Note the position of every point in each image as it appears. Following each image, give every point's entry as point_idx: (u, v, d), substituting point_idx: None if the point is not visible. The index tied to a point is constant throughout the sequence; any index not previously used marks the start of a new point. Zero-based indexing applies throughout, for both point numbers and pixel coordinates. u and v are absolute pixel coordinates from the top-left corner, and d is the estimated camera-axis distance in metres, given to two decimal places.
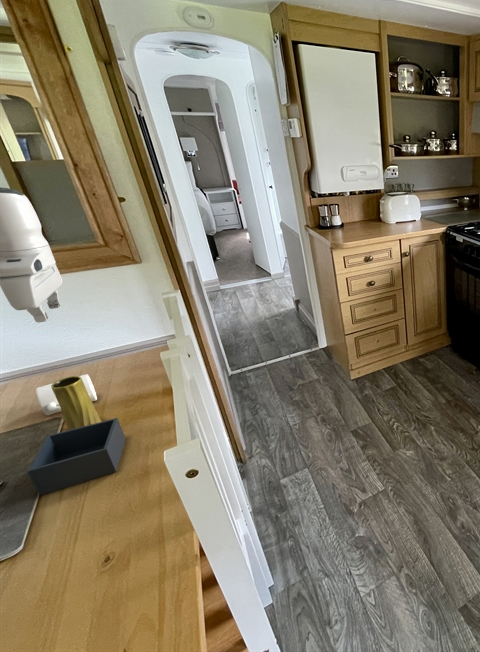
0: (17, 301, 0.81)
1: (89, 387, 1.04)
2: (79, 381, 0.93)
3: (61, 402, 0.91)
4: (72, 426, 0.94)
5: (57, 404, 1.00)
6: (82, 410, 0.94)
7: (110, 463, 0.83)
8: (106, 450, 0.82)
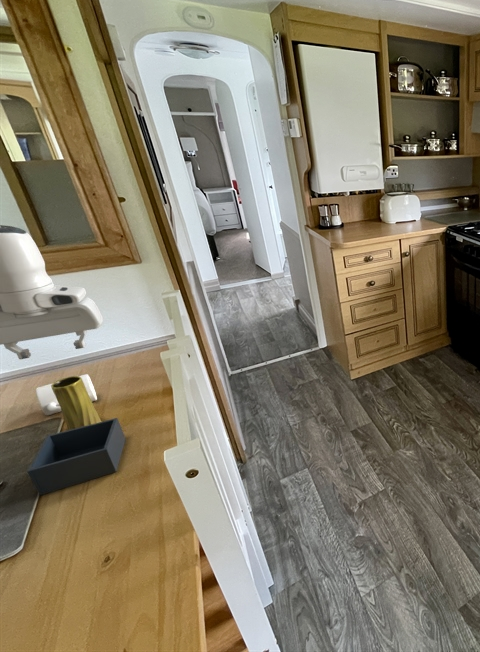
0: (99, 317, 0.91)
1: (89, 387, 1.04)
2: (79, 381, 0.93)
3: (61, 402, 0.91)
4: (72, 426, 0.94)
5: (57, 404, 1.00)
6: (82, 410, 0.94)
7: (110, 463, 0.83)
8: (106, 450, 0.82)
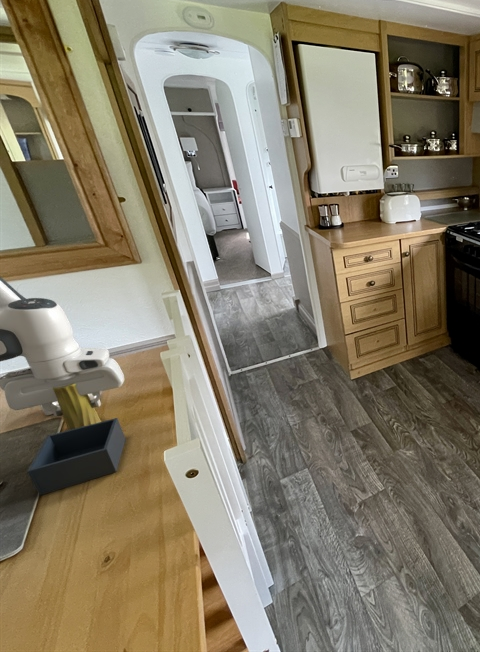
0: (121, 377, 0.97)
1: None
2: None
3: (61, 402, 0.91)
4: (72, 426, 0.94)
5: (57, 404, 1.00)
6: (82, 411, 0.94)
7: (110, 463, 0.83)
8: (106, 450, 0.82)
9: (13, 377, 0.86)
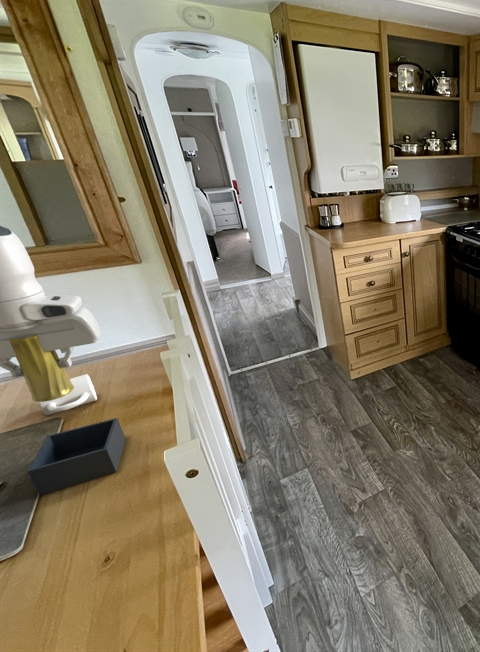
0: (96, 330, 0.80)
1: (89, 387, 1.04)
2: None
3: (20, 358, 0.74)
4: (35, 389, 0.76)
5: (57, 404, 1.00)
6: (47, 370, 0.76)
7: (110, 463, 0.83)
8: (106, 450, 0.82)
9: None
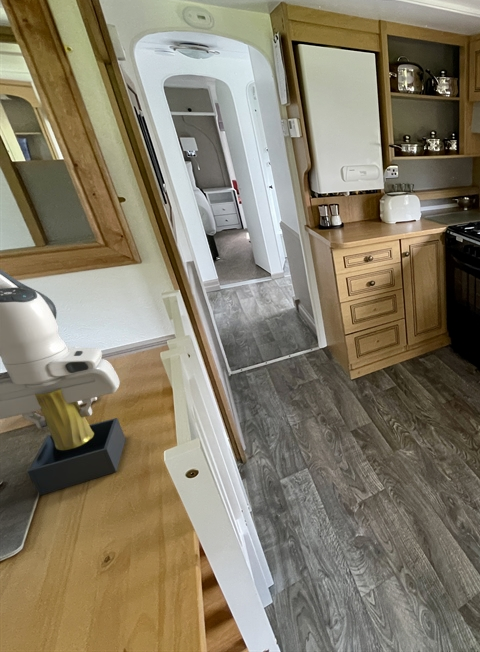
0: (116, 381, 0.84)
1: None
2: None
3: (45, 411, 0.78)
4: (58, 439, 0.80)
5: None
6: (70, 420, 0.80)
7: (110, 463, 0.83)
8: (106, 450, 0.82)
9: None
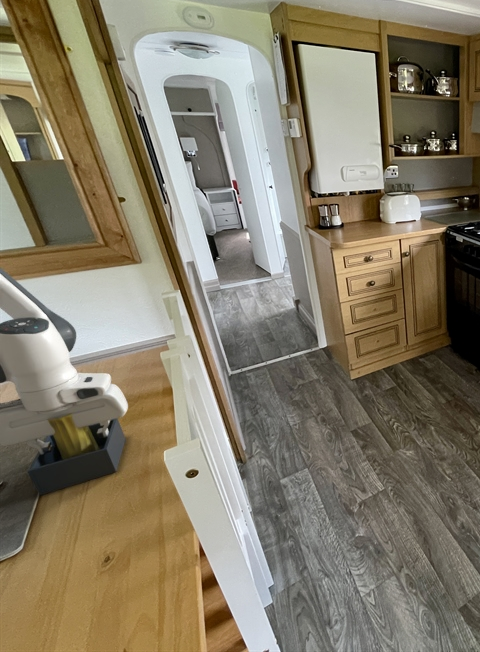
0: (124, 405, 0.86)
1: None
2: None
3: (56, 435, 0.80)
4: None
5: None
6: (80, 444, 0.82)
7: (110, 463, 0.83)
8: (106, 450, 0.82)
9: (1, 409, 0.75)
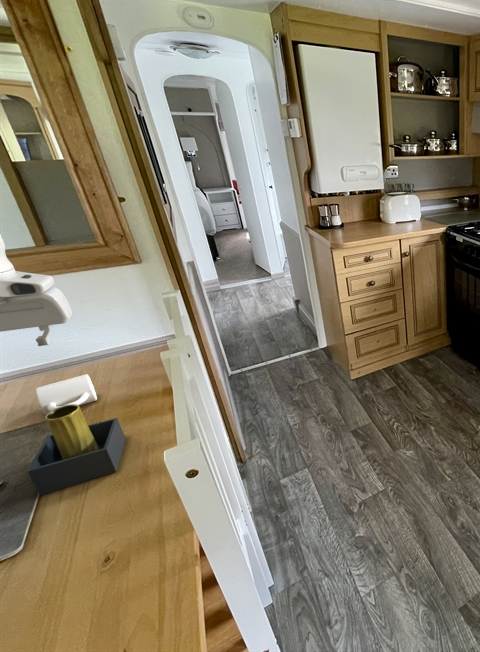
0: (67, 311, 0.80)
1: (89, 387, 1.04)
2: (77, 410, 0.82)
3: (56, 435, 0.80)
4: None
5: (57, 404, 1.00)
6: (80, 444, 0.82)
7: (110, 463, 0.83)
8: (106, 450, 0.82)
9: None
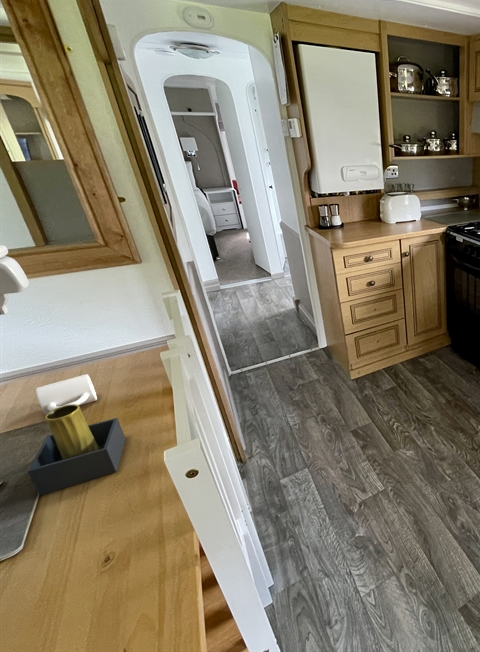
0: (22, 280, 0.80)
1: (89, 387, 1.04)
2: (77, 410, 0.82)
3: (56, 435, 0.80)
4: None
5: (57, 404, 1.00)
6: (80, 444, 0.82)
7: (110, 463, 0.83)
8: (106, 450, 0.82)
9: None
